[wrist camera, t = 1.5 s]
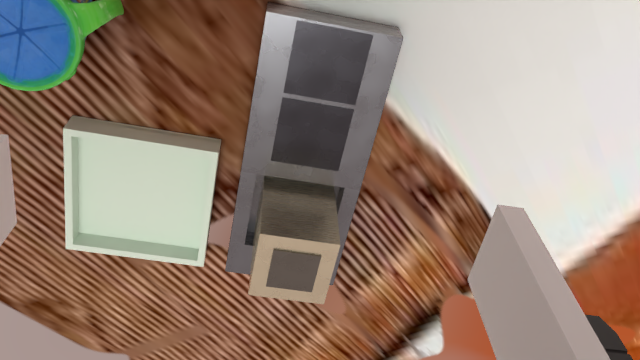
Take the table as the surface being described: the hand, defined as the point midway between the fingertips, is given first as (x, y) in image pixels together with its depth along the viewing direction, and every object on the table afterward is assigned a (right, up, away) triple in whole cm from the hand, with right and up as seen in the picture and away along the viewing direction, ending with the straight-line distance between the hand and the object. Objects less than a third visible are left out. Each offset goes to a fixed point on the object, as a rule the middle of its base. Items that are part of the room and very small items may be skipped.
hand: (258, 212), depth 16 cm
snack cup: (-17, +14, +27) cm, 35 cm away
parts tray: (-14, 0, +35) cm, 38 cm away
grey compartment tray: (0, +3, +34) cm, 34 cm away
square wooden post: (-1, -1, +36) cm, 36 cm away
